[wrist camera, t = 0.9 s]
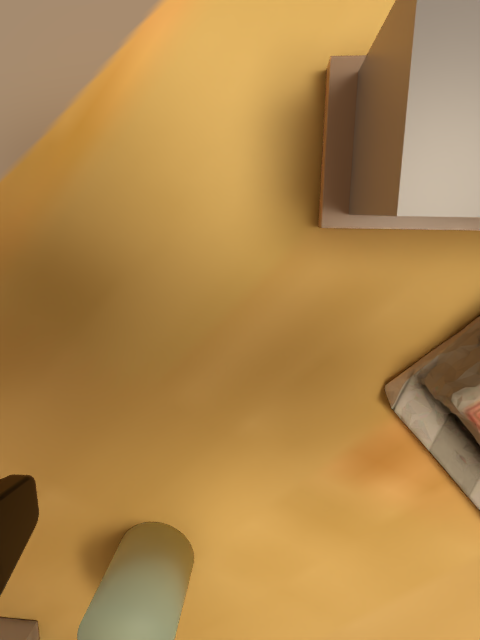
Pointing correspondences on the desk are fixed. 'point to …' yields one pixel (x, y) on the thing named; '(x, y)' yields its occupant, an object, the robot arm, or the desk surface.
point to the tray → (18, 629)
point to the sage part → (141, 587)
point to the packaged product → (446, 406)
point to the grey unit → (406, 124)
